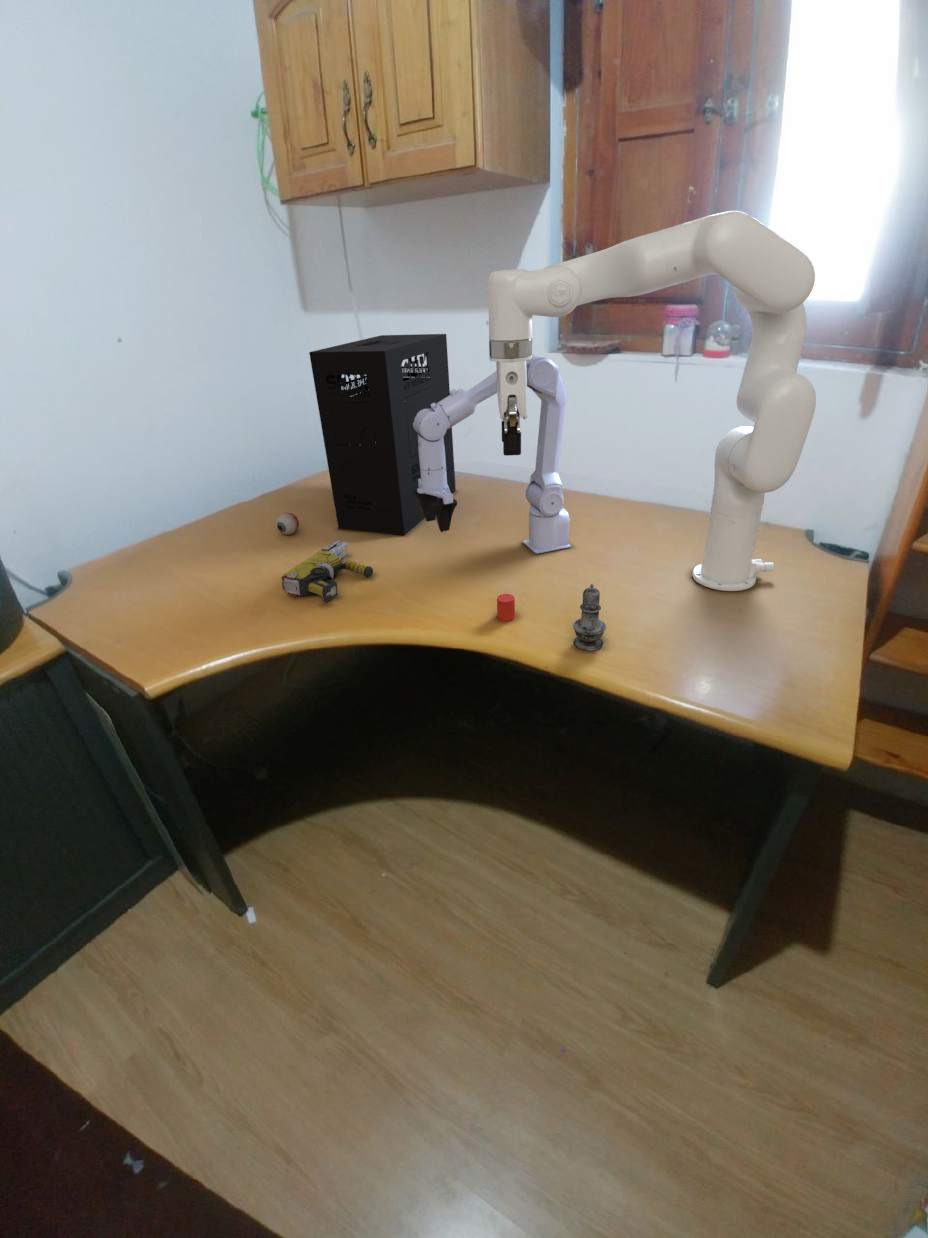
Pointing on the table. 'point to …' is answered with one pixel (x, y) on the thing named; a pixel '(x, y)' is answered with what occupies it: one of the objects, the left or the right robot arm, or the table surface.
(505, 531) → the table surface
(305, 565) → the toy gun
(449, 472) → the cardboard box
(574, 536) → the table surface
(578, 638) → the grey tiered stone figure
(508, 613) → the canister
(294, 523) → the eyeball
